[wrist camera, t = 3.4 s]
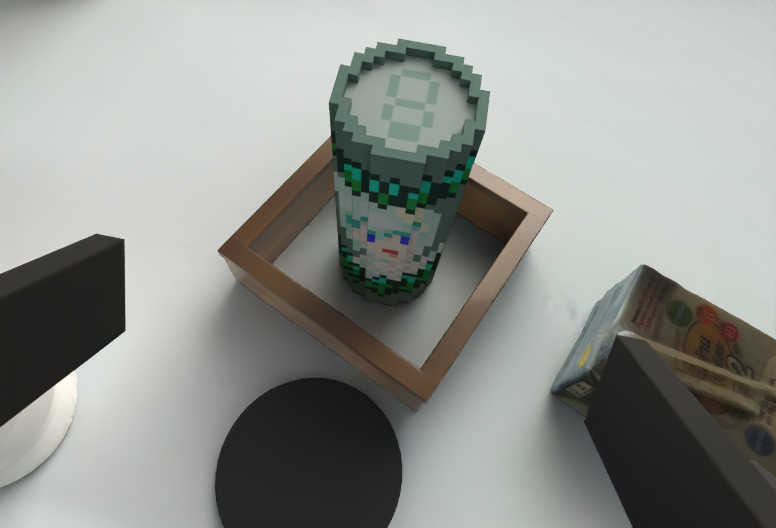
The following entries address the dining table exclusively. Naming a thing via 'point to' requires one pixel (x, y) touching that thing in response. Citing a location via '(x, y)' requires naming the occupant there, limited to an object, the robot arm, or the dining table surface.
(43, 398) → the jar
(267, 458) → the coaster
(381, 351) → the wooden square frame
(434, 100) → the can
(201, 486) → the dining table surface
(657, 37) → the dining table surface
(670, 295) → the beverage carton
